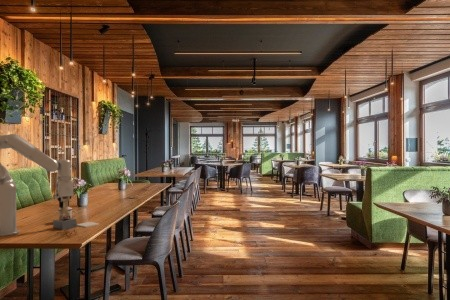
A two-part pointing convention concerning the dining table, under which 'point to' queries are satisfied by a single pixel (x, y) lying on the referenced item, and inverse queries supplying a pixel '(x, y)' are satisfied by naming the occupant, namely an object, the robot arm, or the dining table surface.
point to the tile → (87, 224)
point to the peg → (64, 207)
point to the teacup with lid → (68, 213)
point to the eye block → (64, 223)
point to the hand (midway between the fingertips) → (64, 206)
